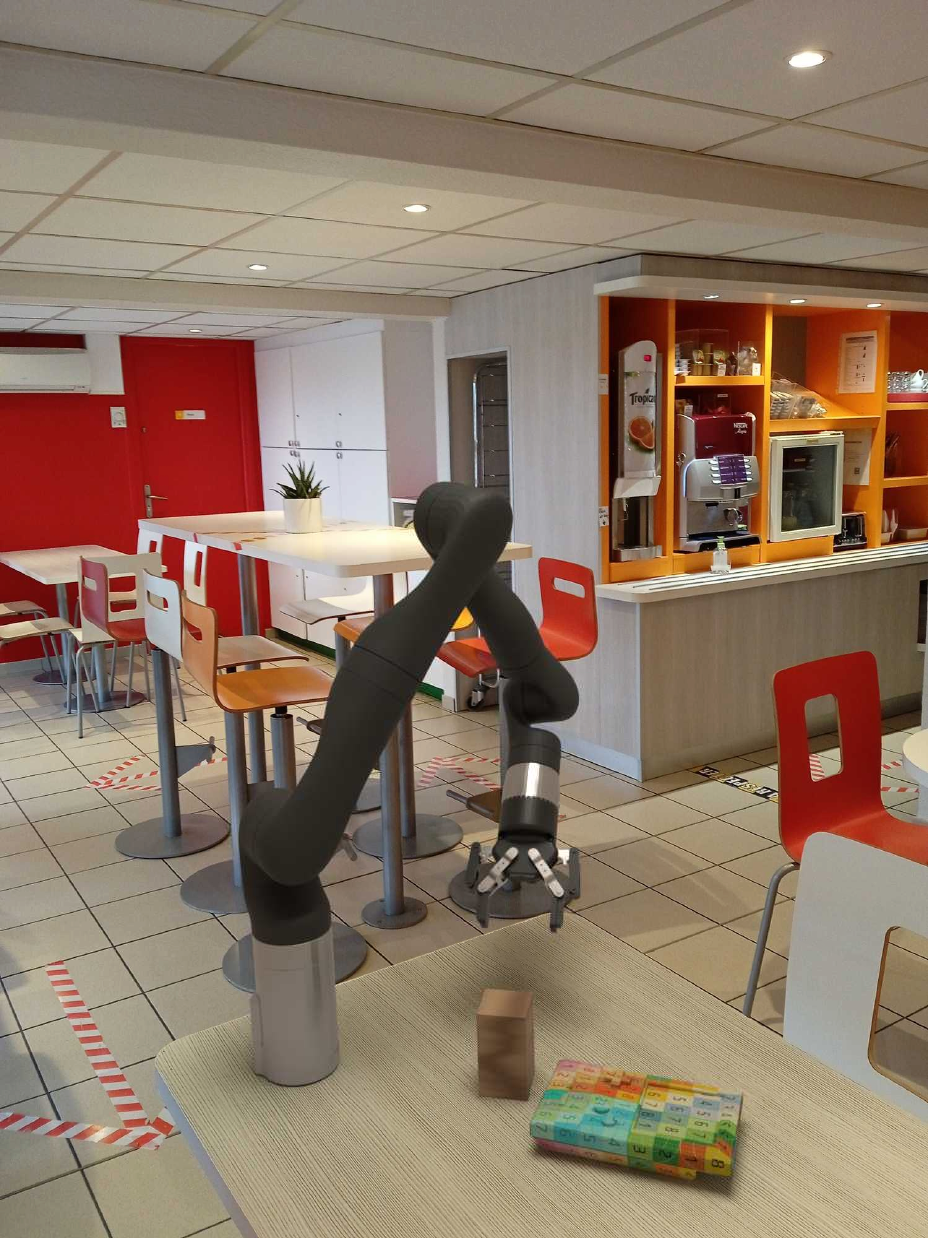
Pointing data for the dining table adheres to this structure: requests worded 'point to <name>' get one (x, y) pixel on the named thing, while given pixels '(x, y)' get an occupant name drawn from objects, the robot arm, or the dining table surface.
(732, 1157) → the puzzle game
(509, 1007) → the walnut block
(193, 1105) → the dining table surface
